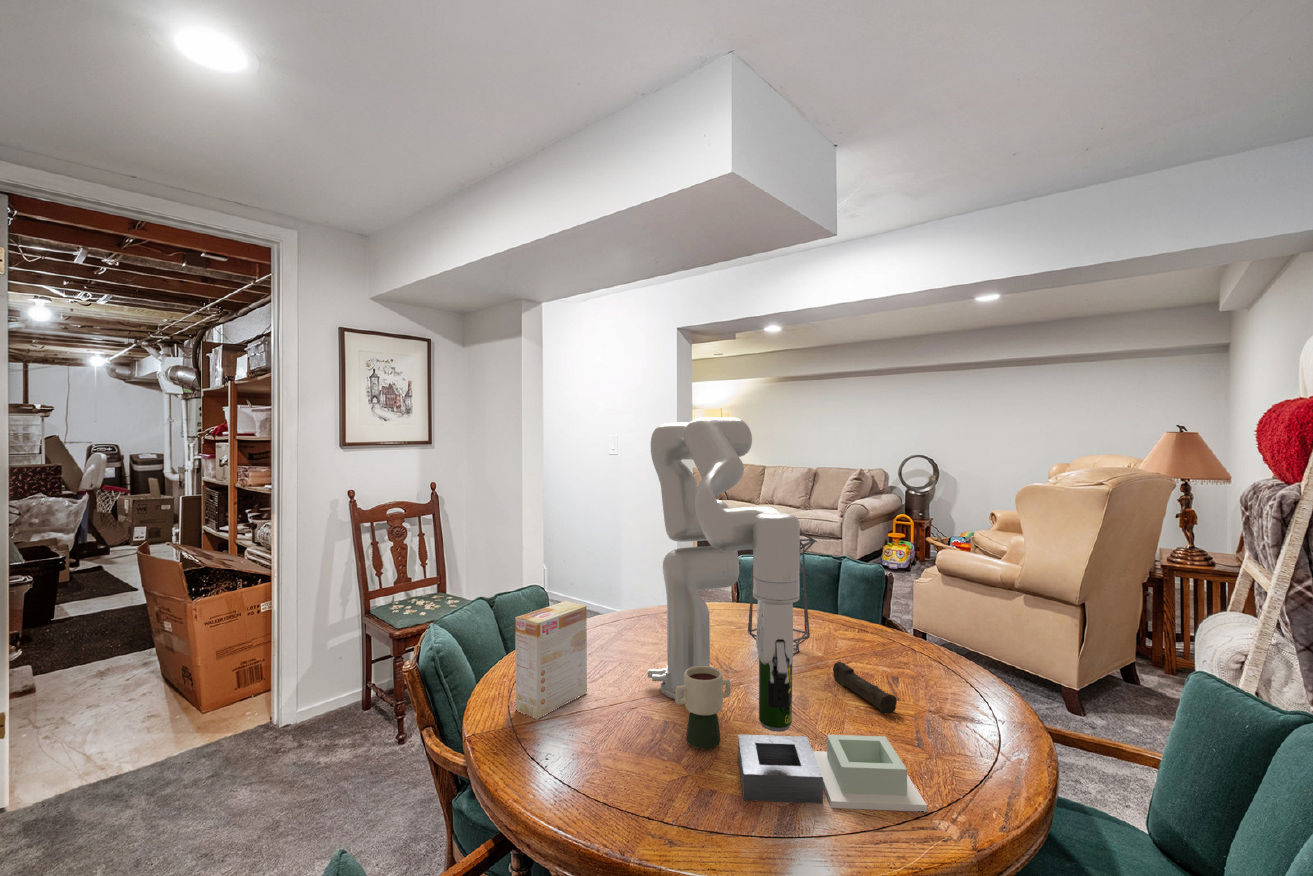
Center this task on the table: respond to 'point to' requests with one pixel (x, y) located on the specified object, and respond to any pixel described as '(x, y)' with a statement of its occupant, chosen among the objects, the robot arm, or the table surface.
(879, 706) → the hand tool
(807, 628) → the geometric lantern
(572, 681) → the coffeecake box
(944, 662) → the table surface
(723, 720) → the table surface
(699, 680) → the character mug
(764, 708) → the beer can
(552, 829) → the table surface
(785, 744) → the socket block
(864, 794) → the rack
